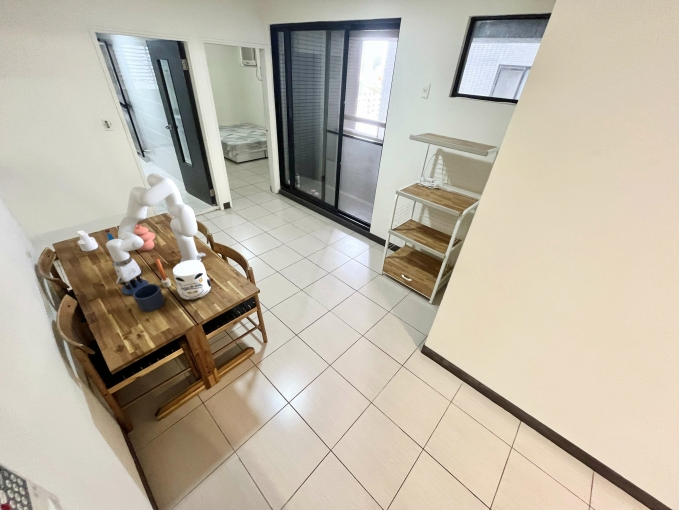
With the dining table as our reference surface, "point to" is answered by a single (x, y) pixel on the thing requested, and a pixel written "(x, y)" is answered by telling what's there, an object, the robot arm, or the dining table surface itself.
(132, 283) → the tin lid
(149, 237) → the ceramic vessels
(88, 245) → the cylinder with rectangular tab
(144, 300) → the tin
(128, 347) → the dining table surface
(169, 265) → the dining table surface
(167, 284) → the brush
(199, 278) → the milk container
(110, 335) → the dining table surface
